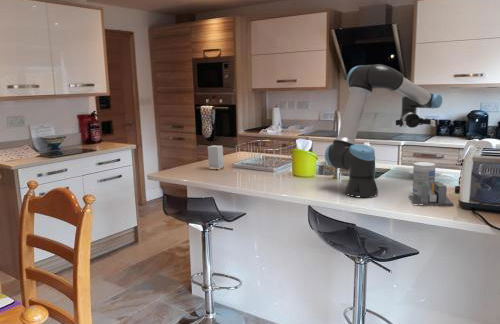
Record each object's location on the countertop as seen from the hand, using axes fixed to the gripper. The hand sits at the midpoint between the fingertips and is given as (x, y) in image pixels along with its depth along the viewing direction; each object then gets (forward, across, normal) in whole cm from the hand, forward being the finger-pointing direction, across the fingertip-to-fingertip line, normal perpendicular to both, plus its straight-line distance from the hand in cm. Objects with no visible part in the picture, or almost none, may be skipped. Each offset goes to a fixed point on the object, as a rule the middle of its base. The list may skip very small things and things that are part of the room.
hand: (419, 124), depth 198 cm
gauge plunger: (+26, -1, -31) cm, 40 cm away
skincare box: (-39, +117, -32) cm, 128 cm away
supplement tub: (+13, 0, -32) cm, 35 cm away
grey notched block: (+26, 0, -32) cm, 41 cm away
